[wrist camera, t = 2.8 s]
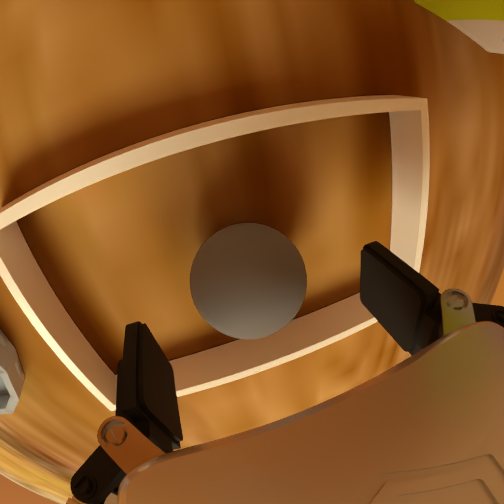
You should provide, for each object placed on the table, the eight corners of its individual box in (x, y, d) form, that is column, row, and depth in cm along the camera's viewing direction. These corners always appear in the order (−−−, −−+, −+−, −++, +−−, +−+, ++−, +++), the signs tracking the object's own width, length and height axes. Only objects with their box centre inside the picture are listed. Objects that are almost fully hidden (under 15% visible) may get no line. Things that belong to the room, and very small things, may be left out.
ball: (171, 225, 13) (177, 287, 9) (273, 194, 14) (324, 238, 9) (202, 305, 15) (220, 377, 11) (287, 276, 16) (328, 336, 12)
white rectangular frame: (1, 207, 10) (-24, 228, 7) (394, 95, 13) (427, 98, 10) (112, 381, 16) (111, 411, 14) (392, 283, 19) (413, 302, 17)
